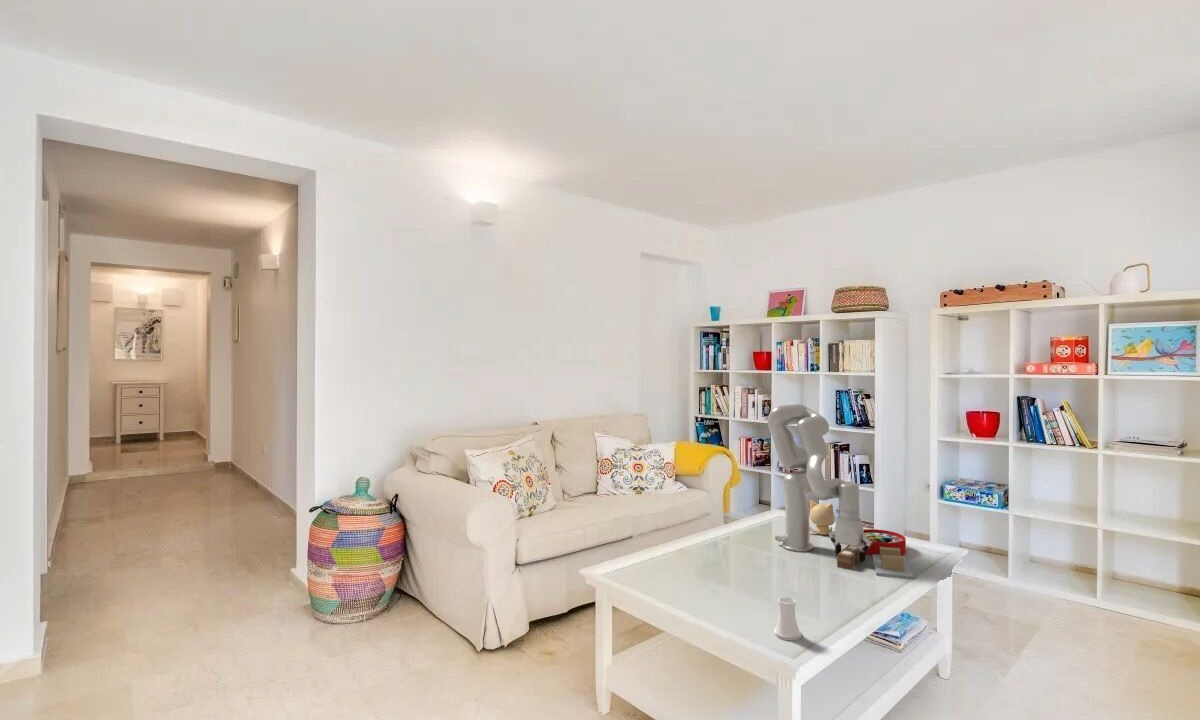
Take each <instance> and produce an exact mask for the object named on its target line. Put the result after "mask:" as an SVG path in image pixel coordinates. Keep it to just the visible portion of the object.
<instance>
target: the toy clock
mask: <svg viewBox="0 0 1200 720" xmlns="http://www.w3.org/2000/svg"><path fill="white" fill-rule="evenodd" d="M863 530H864V536H865V537H867V538H868V539H869V540H871V541H872V544H871V546H870V548H869V549H868V550H867V551H866V556H871V557H872V554H876V555H880V547H888V548H900V551H901V556H903V557H904V556H905V555H906V553H907V547H906V546H907V545H906V544H907V543H906V542H907V541H906V537H905V536H904V535H903V534H901V533H897V532H895V531H889V530H885V529H876V528H875V529H872V528H870V529H869V528H866V529H864V528H863ZM866 544H867V543H866V542H865V541H864V545H865V546H866Z"/></svg>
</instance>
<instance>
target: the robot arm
mask: <svg viewBox="0 0 1200 720" xmlns="http://www.w3.org/2000/svg"><path fill="white" fill-rule="evenodd" d="M792 425H796V430H797V433H798V436H799V438H800V440H801V443H802V445H801V444H799V445H797V444H796V441H795V437H794V434H793V433H792V431H791V430H790V429H789V428H788V426H792ZM767 427H768V430H769V432H770V435H771V437H772V440H773V444H774V448H775V451H776V455H777V458H778V460H779V461H778V462H779V464H780V466H781V468H783V469H785V470H796V469H797V471H793V472H790V473H788V474H786V475H785V476H784V477H783V479H782V483H781V484H782V491H783V495H784V506H785V507H784V509H785V511H784V512H785V534H784V535H775V536H774V540H775V541H777V542H782V544H781V546H782V548H784V549H786V550H788V551H792V552H803V553H804V552H810V551H813V550H814V544H813V543H811V541H810V540H811V539H810V536H811V535H810V530H809V527H810V503H809V502H808V499H807V497H806V494H811V493H812V494H813V496H814V497H815V498H816V499H818V500H820V501H828V500H833V499H837V498H838V509H835V512H836V514H838V516H836V518H835V525H834V530H832V532H830V533H829V534H828V535H829V538H830V541H831V542H832V544H833V546H834V554H835V556H836V557H837V555H838V554H839V553H840V552H841V551H842V545H846V546H848V545H850V546H855V547H858V548H859V549H860V551H861V552H859V562H860V564H861V563H864V562H865V561H866V558H867V555H866V551H867V550H868V549H869V548H870V546H871V544H872V541H871V540H869V539H868V538H867V537H865V536H864V530H863V529H864V524H863V520H862V519H861V514H860V512H861V511H860V486H859V484H858V483H857V482H853V481H846V480H842V479H840V478H829V479H825V477H824V475H823V469H822V465H823V462H824V460H825V459H826V457H828V455H829V448H828V446H827V444H826V442H825V438H824V437H823V436H825V435H827V434H828V432H829V430H830V425H829V422H828V420H827V419H826V418H825V417H824V416H822V415H821V414H820V413H818V412H816V411H814V410H813V409H811V408H809V407H807V406H806V405H804V404H798V403H795V404H786V405H778V406H776V407H774V408H773V409H772V410H771V411H769V413H768V416H767ZM834 534H835V537H834ZM864 541H865V542H866V543H867V544H866V546H865V545H864ZM841 544H842V545H841Z"/></svg>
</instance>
